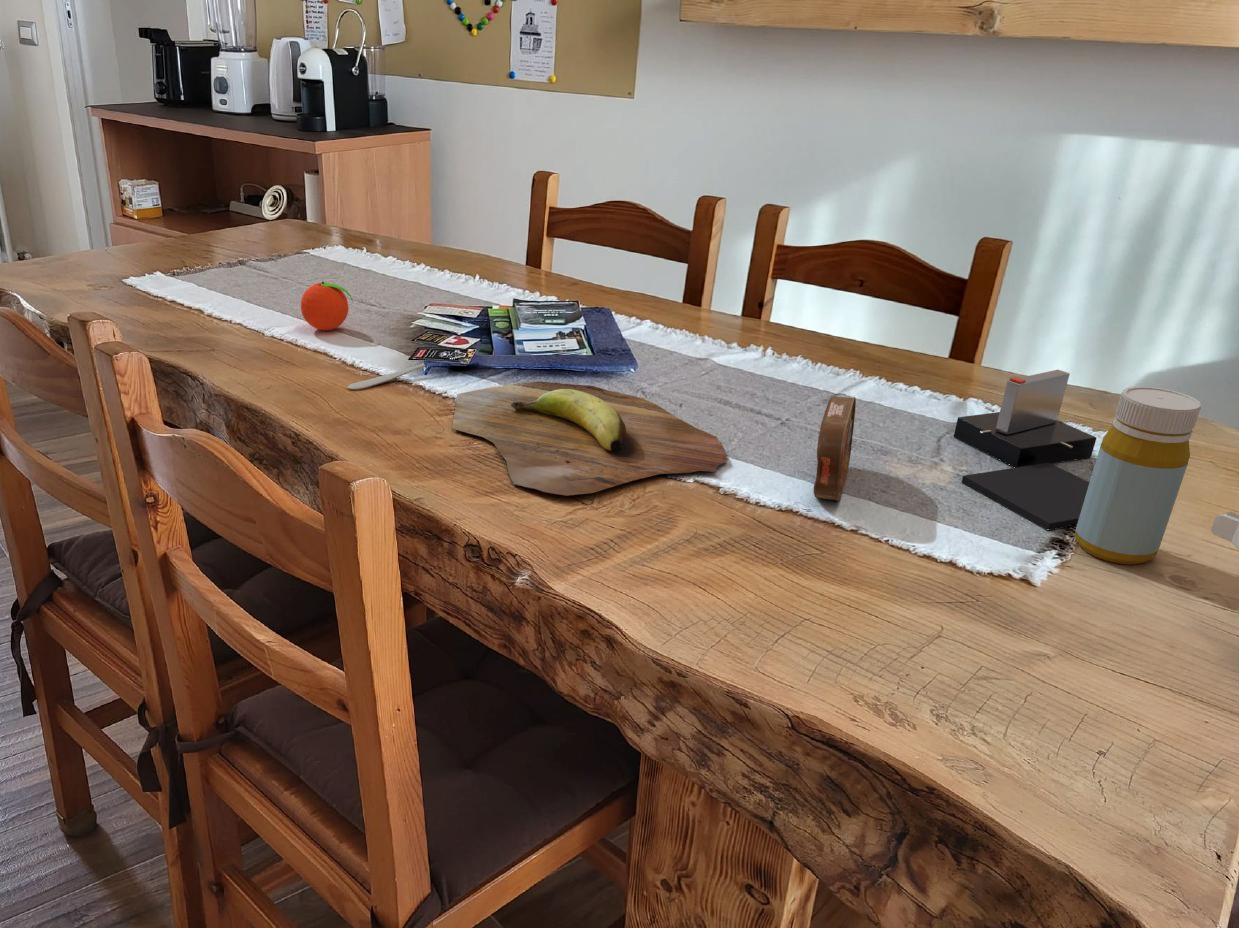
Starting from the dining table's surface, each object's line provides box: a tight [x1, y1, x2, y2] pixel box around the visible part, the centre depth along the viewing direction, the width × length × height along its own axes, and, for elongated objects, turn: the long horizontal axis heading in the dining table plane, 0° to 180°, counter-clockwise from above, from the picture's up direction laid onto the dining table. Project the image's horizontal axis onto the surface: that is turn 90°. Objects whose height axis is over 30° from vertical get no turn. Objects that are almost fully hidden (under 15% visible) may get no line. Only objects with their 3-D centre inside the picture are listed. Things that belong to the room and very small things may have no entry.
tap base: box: [953, 406, 1097, 468], centre depth 119 cm, size 13×13×3 cm
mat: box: [961, 463, 1090, 531], centre depth 107 cm, size 12×12×1 cm
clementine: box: [300, 281, 354, 332], centre depth 152 cm, size 8×7×7 cm
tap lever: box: [995, 369, 1071, 435], centre depth 117 cm, size 9×2×6 cm, turn 121°
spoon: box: [346, 363, 426, 391], centre depth 136 cm, size 4×21×2 cm, turn 128°
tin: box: [813, 396, 857, 502], centre depth 107 cm, size 15×3×8 cm, turn 160°
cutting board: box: [452, 381, 729, 497], centre depth 119 cm, size 35×27×4 cm
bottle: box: [1074, 386, 1202, 566], centre depth 94 cm, size 7×7×15 cm
